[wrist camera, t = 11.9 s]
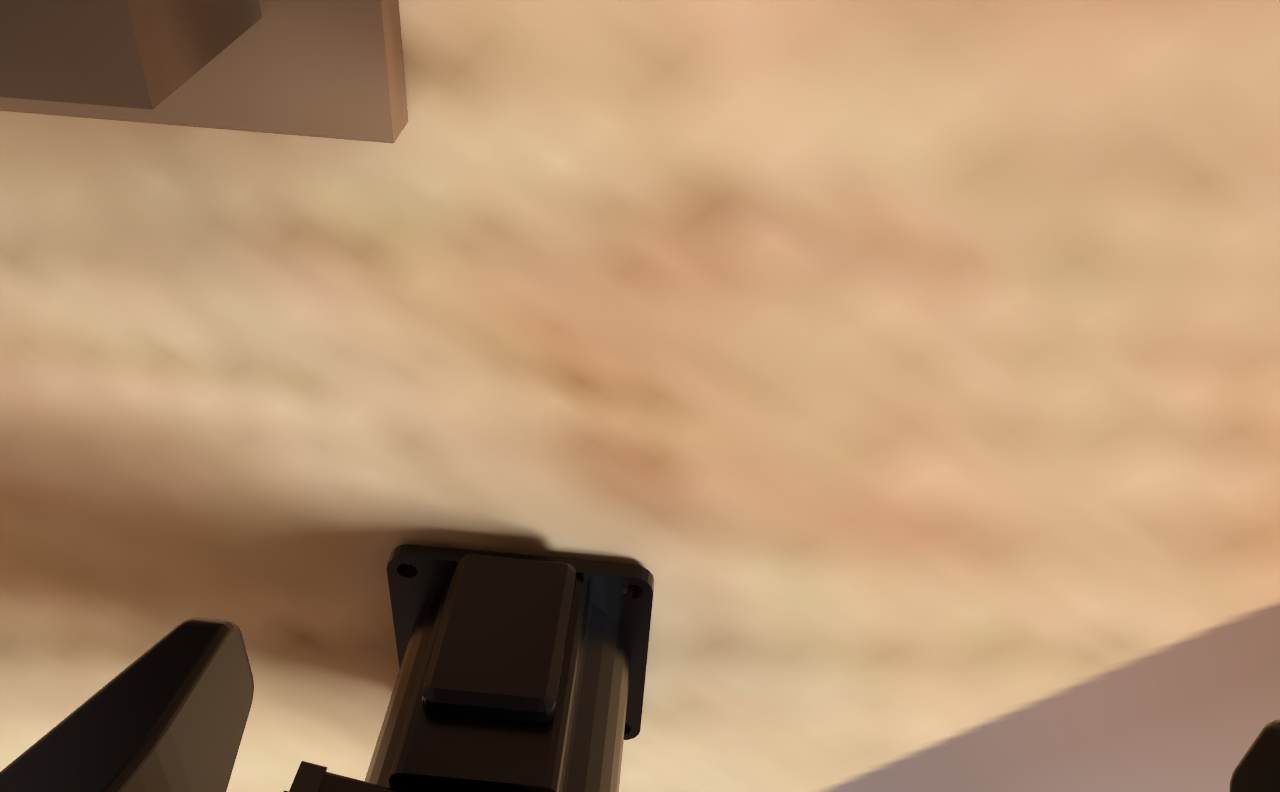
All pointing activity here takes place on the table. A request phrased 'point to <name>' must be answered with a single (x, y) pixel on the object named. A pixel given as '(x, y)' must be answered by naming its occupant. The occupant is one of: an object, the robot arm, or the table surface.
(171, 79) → the display stand
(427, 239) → the table surface
